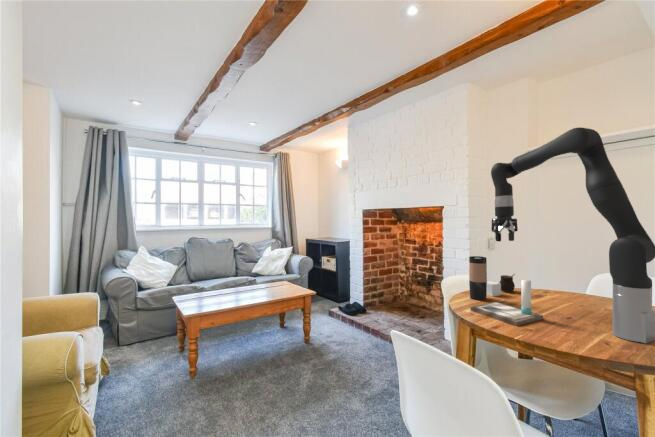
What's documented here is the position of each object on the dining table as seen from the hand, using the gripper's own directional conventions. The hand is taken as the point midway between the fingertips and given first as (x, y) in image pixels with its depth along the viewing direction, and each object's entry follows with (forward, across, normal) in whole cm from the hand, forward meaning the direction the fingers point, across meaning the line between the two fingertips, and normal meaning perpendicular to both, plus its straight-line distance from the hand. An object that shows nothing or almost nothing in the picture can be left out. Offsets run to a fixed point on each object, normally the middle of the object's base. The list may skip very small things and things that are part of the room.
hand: (505, 241), depth 140 cm
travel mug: (+28, -6, +11) cm, 31 cm away
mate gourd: (+28, +18, +13) cm, 36 cm away
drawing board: (+29, -15, -10) cm, 34 cm away
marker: (+28, -11, -16) cm, 34 cm away
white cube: (+28, +6, +13) cm, 32 cm away
